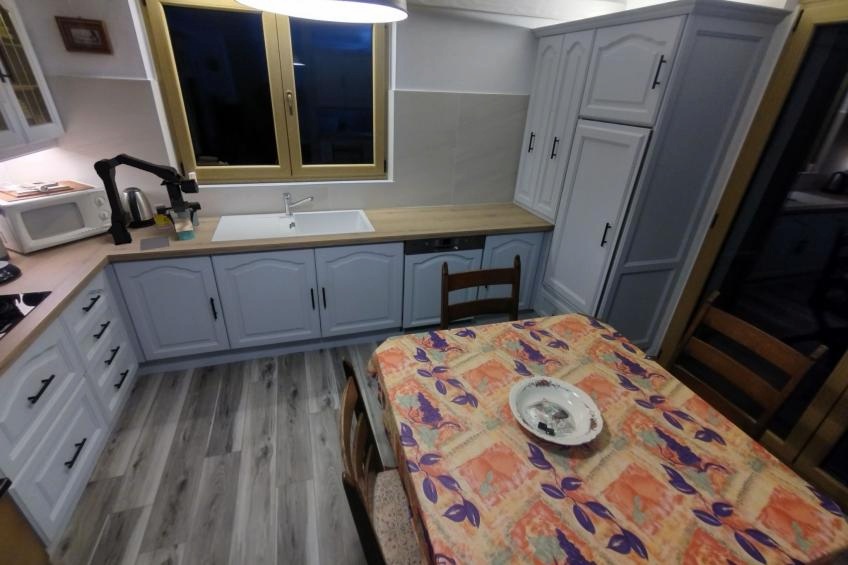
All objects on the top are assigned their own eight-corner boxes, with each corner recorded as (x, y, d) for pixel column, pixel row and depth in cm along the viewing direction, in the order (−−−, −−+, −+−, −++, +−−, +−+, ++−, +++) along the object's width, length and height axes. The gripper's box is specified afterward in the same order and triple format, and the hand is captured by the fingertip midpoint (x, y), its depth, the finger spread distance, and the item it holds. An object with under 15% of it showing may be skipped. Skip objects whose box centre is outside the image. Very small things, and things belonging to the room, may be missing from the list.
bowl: (180, 242, 193) (177, 232, 191) (179, 237, 198) (176, 228, 196) (195, 239, 197) (193, 230, 194) (194, 235, 202) (192, 226, 199)
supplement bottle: (167, 229, 208) (160, 206, 202) (154, 229, 208) (147, 206, 202) (174, 225, 214) (168, 203, 208) (162, 225, 214) (155, 202, 208)
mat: (140, 251, 181) (140, 250, 181) (140, 240, 194) (140, 239, 194) (170, 247, 187) (169, 246, 187) (168, 236, 200) (168, 235, 200)
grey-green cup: (194, 228, 211) (188, 207, 205) (175, 228, 211) (169, 206, 205) (203, 222, 220) (198, 202, 214) (186, 222, 220) (180, 201, 214)
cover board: (176, 232, 187) (175, 227, 186) (174, 223, 198) (173, 219, 197) (193, 229, 191) (192, 224, 190) (190, 221, 201) (189, 217, 200)
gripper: (152, 200, 176) (162, 232, 183) (198, 195, 185) (206, 226, 193) (152, 194, 184) (161, 225, 192) (196, 190, 194) (203, 220, 201)
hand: (183, 224), depth 194 cm, fingers closed on cover board, 7 cm apart
